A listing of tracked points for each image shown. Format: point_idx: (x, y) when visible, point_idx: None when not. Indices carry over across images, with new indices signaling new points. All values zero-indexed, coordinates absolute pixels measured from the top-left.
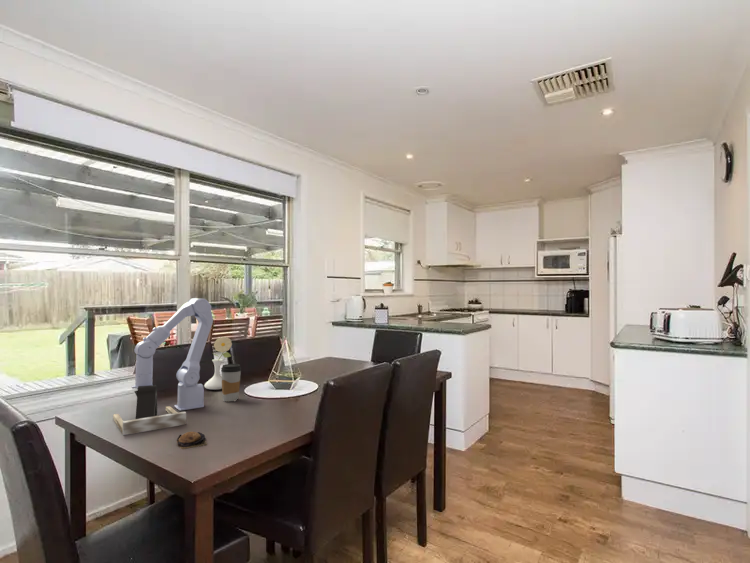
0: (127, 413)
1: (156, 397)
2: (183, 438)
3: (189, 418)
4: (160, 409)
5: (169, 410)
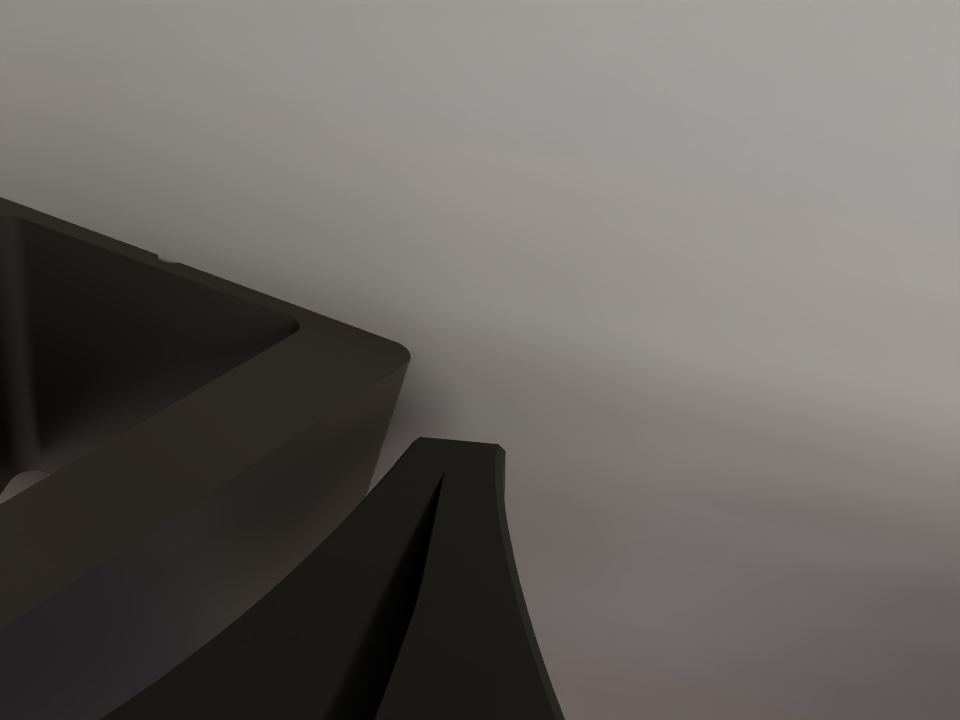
0: (847, 191)
1: None
2: None
3: None
4: (642, 672)
5: None
